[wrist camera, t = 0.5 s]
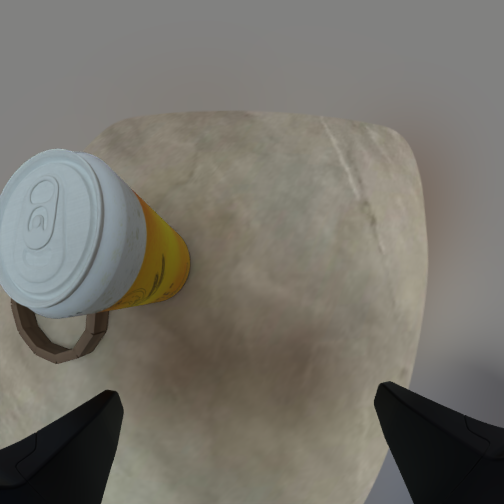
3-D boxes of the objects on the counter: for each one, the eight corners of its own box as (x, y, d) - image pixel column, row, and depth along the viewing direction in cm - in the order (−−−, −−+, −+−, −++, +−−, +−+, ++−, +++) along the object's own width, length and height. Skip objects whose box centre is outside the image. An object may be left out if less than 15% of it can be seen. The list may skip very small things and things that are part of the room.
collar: (104, 370, 20) (91, 377, 18) (24, 338, 20) (9, 341, 17) (116, 256, 22) (104, 253, 19) (34, 239, 21) (19, 235, 19)
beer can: (121, 301, 21) (-17, 313, 6) (122, 228, 22) (-1, 155, 7) (192, 301, 22) (112, 328, 7) (191, 224, 22) (124, 124, 7)
